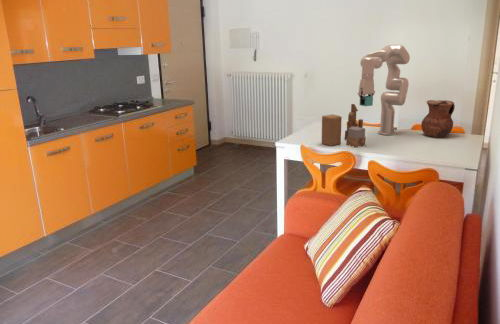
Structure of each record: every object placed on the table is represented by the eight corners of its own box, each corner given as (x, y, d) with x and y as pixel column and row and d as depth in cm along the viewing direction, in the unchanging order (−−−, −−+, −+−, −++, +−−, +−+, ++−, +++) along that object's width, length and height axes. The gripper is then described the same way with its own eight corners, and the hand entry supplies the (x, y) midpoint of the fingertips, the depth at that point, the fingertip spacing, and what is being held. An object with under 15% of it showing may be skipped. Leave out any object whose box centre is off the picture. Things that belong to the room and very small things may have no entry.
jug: (443, 140, 285) (447, 104, 278) (414, 135, 300) (417, 102, 293) (457, 134, 299) (461, 100, 291) (429, 130, 314) (432, 98, 307)
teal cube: (365, 104, 278) (366, 95, 277) (372, 105, 273) (373, 96, 272) (359, 105, 275) (359, 96, 274) (366, 106, 270) (366, 97, 269)
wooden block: (329, 146, 280) (330, 117, 274) (321, 143, 289) (321, 115, 283) (341, 144, 284) (342, 116, 279) (332, 141, 293) (332, 114, 287)
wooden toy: (353, 140, 294) (354, 106, 286) (344, 139, 298) (345, 105, 290) (362, 136, 304) (364, 102, 297) (354, 135, 309) (356, 102, 301)
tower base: (355, 143, 287) (356, 134, 285) (365, 145, 280) (365, 137, 278) (346, 145, 283) (346, 136, 281) (355, 147, 275) (356, 139, 274)
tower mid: (356, 134, 285) (356, 126, 283) (364, 137, 278) (365, 128, 276) (347, 136, 281) (348, 128, 279) (356, 138, 274) (356, 130, 272)
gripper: (372, 75, 276) (370, 102, 282) (353, 77, 268) (352, 104, 273) (380, 76, 270) (379, 103, 275) (362, 78, 262) (361, 106, 267)
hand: (365, 103), depth 274 cm, fingers closed on teal cube, 6 cm apart
